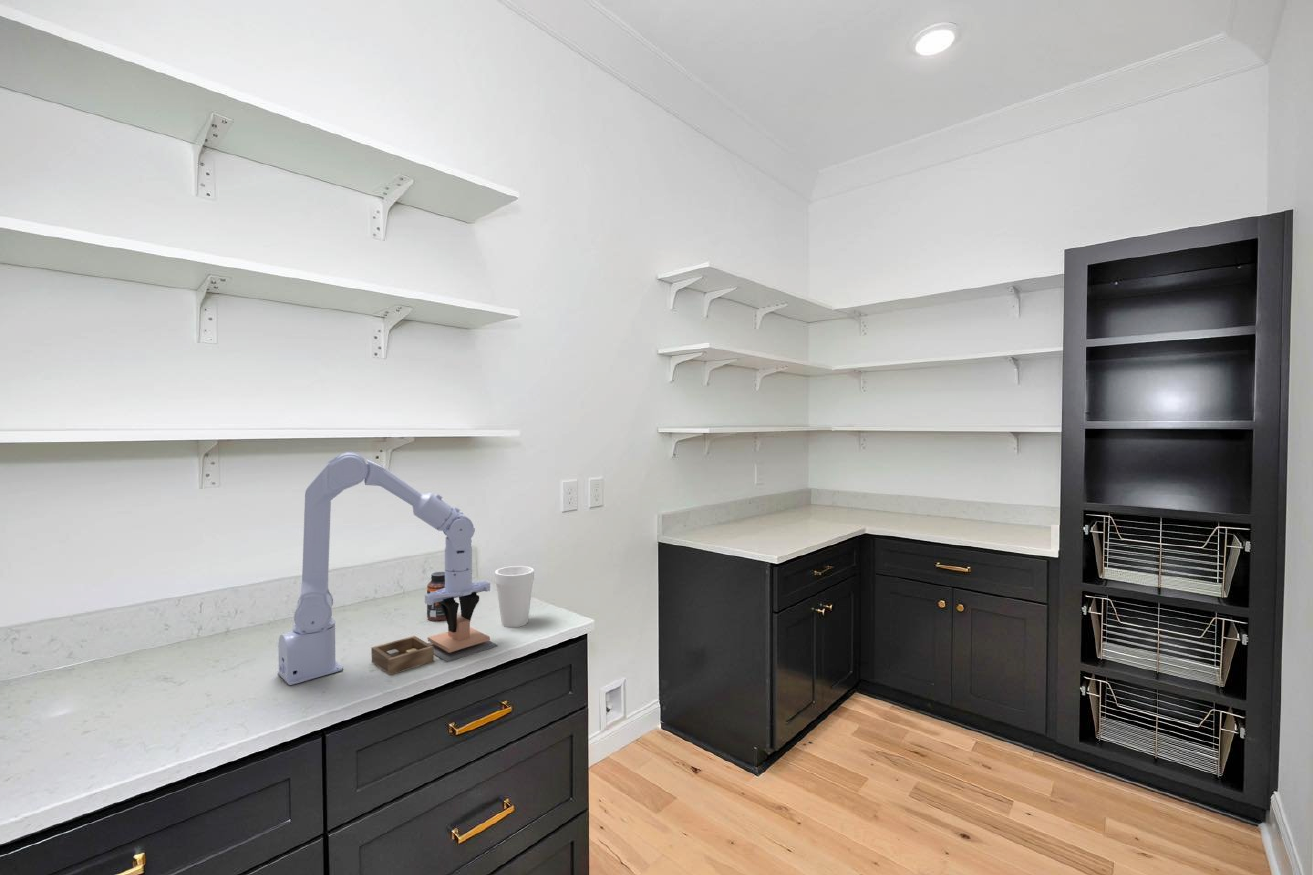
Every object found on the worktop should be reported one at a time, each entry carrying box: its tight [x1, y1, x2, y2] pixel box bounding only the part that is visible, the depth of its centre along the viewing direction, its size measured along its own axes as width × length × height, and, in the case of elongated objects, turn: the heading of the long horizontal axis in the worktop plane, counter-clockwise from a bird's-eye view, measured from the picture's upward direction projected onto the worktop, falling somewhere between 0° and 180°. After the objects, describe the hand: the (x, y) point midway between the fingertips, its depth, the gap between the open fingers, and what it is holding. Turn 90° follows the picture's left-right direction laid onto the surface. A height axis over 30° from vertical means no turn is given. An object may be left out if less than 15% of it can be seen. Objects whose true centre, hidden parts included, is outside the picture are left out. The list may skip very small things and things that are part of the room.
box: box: [371, 635, 435, 676], centre depth 120 cm, size 9×9×3 cm
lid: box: [427, 614, 491, 653], centre depth 128 cm, size 10×10×5 cm
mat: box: [427, 640, 498, 663], centre depth 128 cm, size 12×12×1 cm
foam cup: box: [494, 565, 535, 628], centre depth 143 cm, size 10×9×13 cm
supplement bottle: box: [426, 571, 446, 622], centre depth 147 cm, size 6×6×11 cm
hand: (458, 629), depth 128 cm, fingers closed on lid, 2 cm apart
